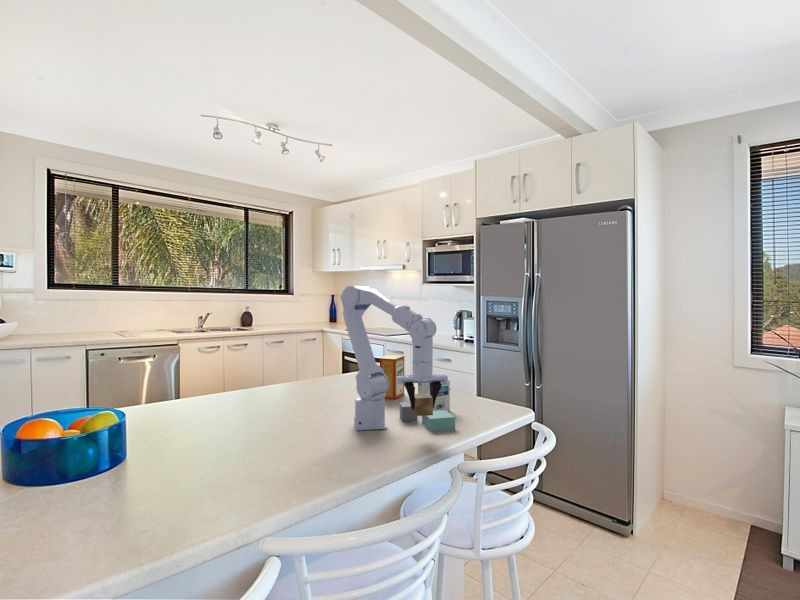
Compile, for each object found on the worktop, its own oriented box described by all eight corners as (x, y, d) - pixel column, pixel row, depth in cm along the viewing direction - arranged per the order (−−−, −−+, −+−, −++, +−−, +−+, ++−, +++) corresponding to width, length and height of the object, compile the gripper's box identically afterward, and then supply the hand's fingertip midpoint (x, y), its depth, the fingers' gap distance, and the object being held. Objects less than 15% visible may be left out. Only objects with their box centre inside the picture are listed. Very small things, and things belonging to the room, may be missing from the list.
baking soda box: (389, 392, 176) (389, 353, 175) (404, 394, 173) (404, 354, 173) (379, 398, 167) (379, 357, 167) (395, 399, 165) (395, 358, 164)
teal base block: (430, 432, 128) (430, 418, 128) (422, 424, 136) (422, 411, 136) (455, 430, 130) (455, 416, 130) (445, 422, 138) (445, 409, 138)
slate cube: (402, 422, 137) (402, 406, 137) (399, 417, 142) (399, 402, 142) (417, 421, 138) (417, 406, 138) (414, 417, 143) (414, 402, 143)
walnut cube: (415, 416, 120) (415, 398, 120) (412, 411, 125) (412, 394, 125) (432, 415, 121) (432, 397, 121) (428, 410, 126) (429, 393, 126)
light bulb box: (450, 410, 150) (450, 380, 150) (435, 414, 146) (435, 382, 146) (431, 404, 159) (431, 375, 158) (416, 406, 155) (416, 377, 155)
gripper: (399, 363, 118) (399, 412, 118) (450, 362, 120) (450, 410, 120) (395, 359, 124) (395, 406, 125) (444, 358, 127) (444, 404, 127)
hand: (422, 408), depth 123 cm, fingers closed on walnut cube, 5 cm apart
